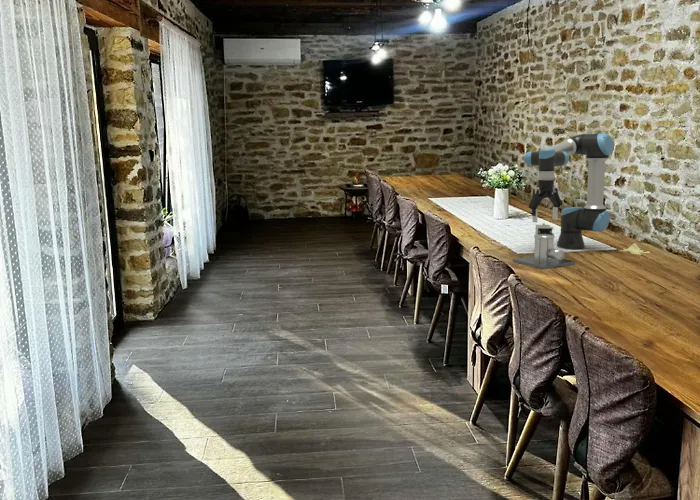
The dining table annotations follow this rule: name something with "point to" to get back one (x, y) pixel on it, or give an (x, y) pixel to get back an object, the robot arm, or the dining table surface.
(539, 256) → the grey metal fitting
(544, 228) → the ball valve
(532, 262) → the grey metal plate
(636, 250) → the cloth
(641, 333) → the dining table surface
